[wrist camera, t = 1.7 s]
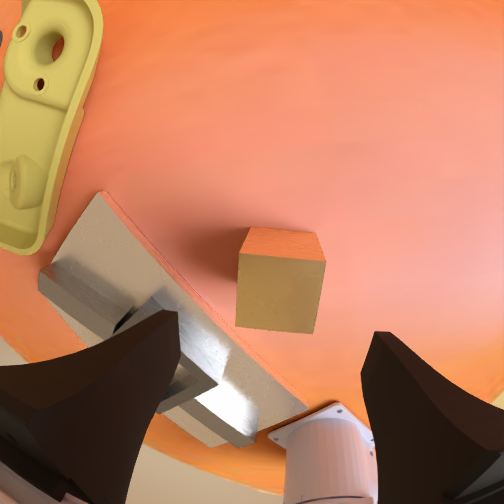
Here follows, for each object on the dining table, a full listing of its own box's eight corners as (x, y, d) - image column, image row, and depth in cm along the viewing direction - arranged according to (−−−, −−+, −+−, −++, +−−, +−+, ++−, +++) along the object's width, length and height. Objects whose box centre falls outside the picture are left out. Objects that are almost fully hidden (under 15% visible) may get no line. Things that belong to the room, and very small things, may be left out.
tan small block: (315, 232, 18) (326, 261, 13) (307, 291, 19) (313, 333, 14) (251, 226, 18) (239, 252, 13) (247, 285, 19) (235, 326, 15)
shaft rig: (309, 400, 22) (310, 426, 19) (212, 440, 26) (206, 462, 23) (105, 189, 18) (80, 197, 16) (44, 282, 22) (23, 296, 19)
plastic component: (41, 263, 18) (-47, 227, 14) (65, 218, 24) (-11, 190, 20) (133, -2, 11) (14, -22, 6) (145, 19, 16) (51, -4, 12)
